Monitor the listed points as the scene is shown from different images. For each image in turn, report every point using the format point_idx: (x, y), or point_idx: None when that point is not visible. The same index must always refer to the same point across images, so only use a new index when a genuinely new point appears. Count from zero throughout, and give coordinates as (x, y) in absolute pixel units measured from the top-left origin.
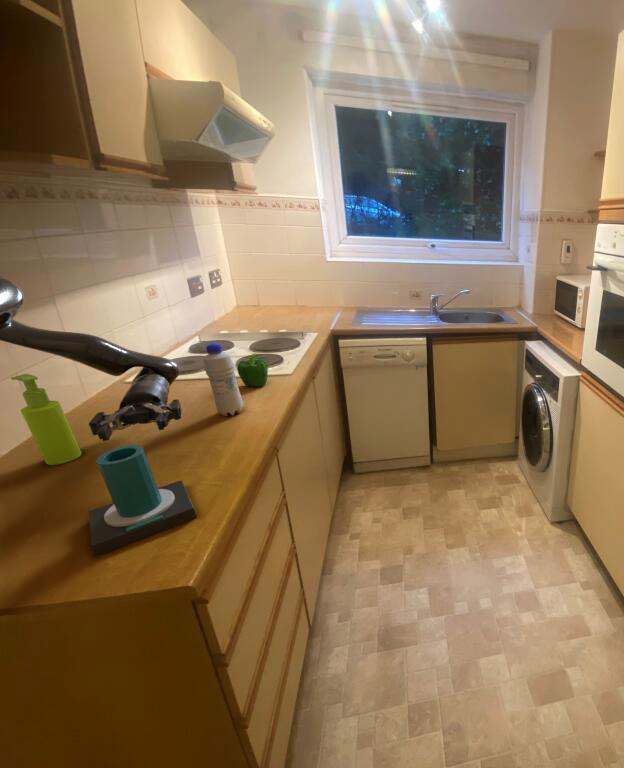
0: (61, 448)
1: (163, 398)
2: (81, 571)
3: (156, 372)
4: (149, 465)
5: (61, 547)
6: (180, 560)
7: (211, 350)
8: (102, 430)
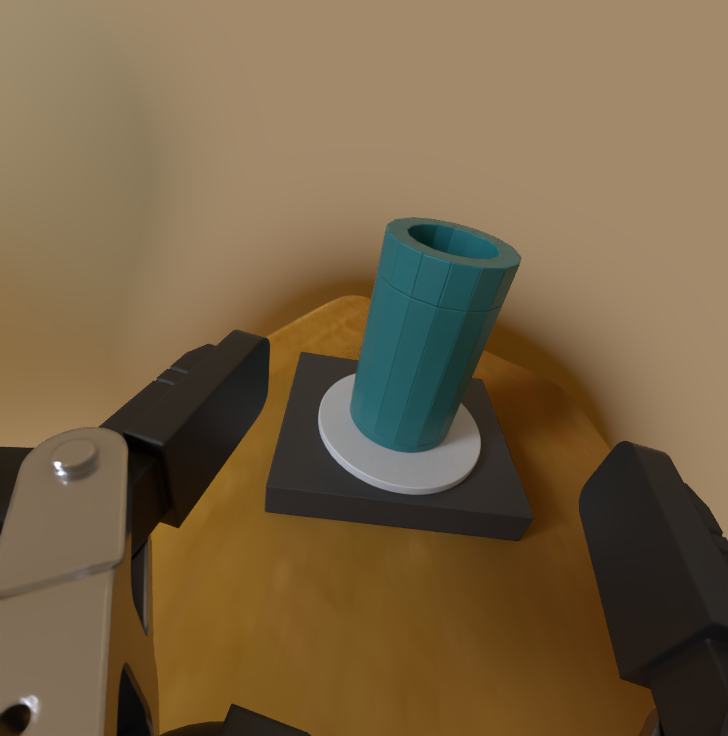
0: None
1: None
2: (487, 384)
3: None
4: (371, 305)
5: (553, 475)
6: (355, 318)
7: None
8: (648, 449)
